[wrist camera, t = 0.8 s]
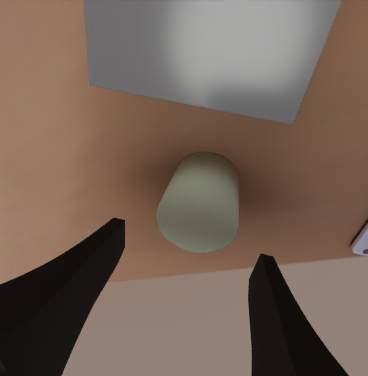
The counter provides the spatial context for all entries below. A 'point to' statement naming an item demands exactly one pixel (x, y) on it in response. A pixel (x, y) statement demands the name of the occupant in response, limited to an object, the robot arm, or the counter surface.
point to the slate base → (210, 51)
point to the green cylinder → (201, 204)
